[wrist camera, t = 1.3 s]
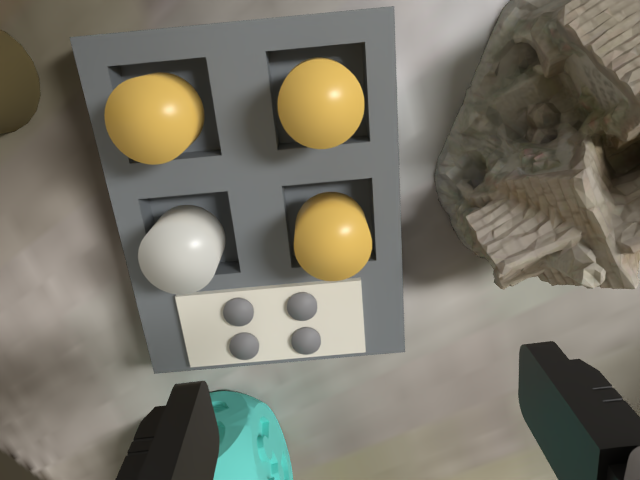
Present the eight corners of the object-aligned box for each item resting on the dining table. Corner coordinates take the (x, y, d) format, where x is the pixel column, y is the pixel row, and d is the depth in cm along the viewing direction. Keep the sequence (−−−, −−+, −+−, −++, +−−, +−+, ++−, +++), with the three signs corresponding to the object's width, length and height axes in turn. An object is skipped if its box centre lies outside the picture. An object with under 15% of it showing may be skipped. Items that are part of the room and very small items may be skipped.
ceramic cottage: (676, -89, 26) (1042, -183, 13) (696, 194, 33) (953, 333, 19) (384, 26, 29) (429, 50, 15) (456, 267, 35) (532, 435, 22)
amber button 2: (276, 61, 26) (272, 64, 23) (356, 53, 26) (362, 55, 23) (285, 140, 27) (282, 153, 24) (360, 133, 27) (366, 145, 24)
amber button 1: (118, 76, 26) (94, 81, 23) (196, 68, 26) (183, 72, 23) (135, 154, 27) (115, 168, 24) (210, 147, 27) (199, 160, 24)
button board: (93, 37, 28) (63, 37, 25) (385, 9, 28) (396, 5, 24) (166, 346, 35) (151, 380, 32) (397, 326, 35) (406, 358, 32)
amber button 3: (291, 195, 28) (289, 212, 25) (363, 188, 28) (370, 205, 25) (299, 261, 30) (298, 284, 27) (368, 255, 30) (373, 277, 27)
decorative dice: (201, 484, 40) (176, 586, 33) (155, 408, 37) (117, 500, 30) (296, 456, 39) (293, 554, 32) (256, 376, 37) (243, 462, 29)
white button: (147, 208, 28) (130, 226, 26) (219, 201, 28) (209, 219, 25) (162, 273, 30) (147, 297, 27) (230, 267, 30) (222, 291, 27)
